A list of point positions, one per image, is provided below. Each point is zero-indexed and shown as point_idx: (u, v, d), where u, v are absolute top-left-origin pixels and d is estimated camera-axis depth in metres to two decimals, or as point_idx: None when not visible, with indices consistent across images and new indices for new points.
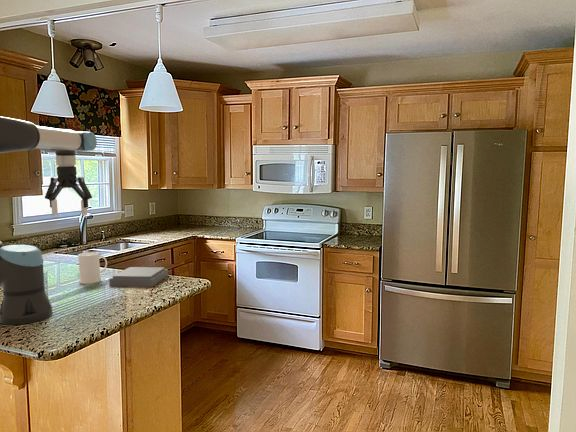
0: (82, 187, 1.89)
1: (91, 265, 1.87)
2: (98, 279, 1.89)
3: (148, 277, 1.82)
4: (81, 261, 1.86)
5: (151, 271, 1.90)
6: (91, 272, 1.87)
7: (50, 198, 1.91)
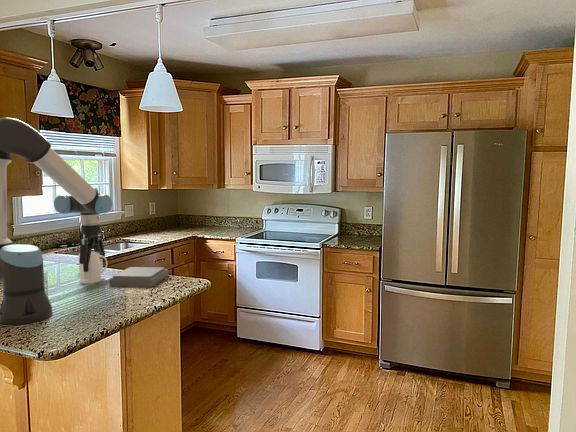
0: None
1: (92, 265, 1.87)
2: (98, 279, 1.90)
3: (148, 277, 1.82)
4: None
5: (151, 271, 1.90)
6: (91, 272, 1.87)
7: None
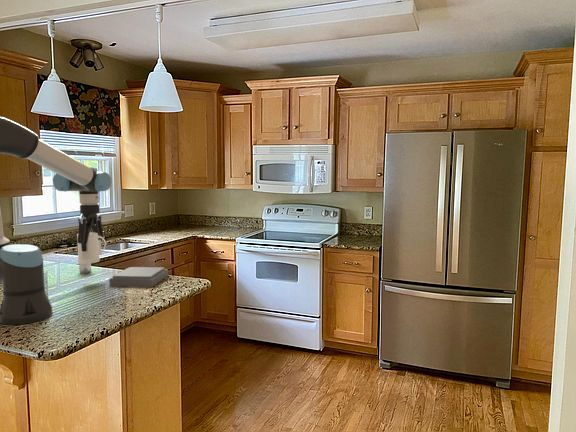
0: None
1: (90, 245, 1.86)
2: (97, 259, 1.89)
3: (148, 277, 1.82)
4: None
5: (151, 271, 1.90)
6: (90, 252, 1.86)
7: None
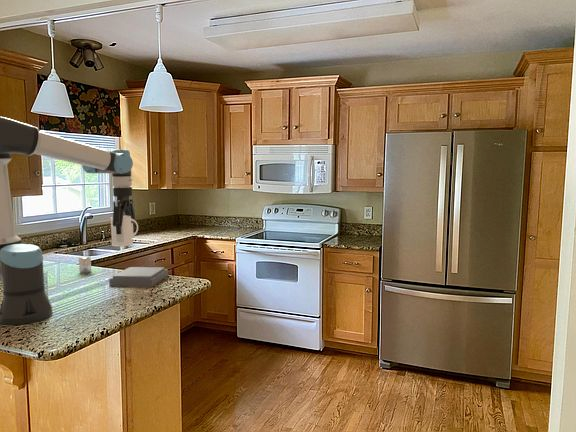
0: None
1: (124, 228, 1.85)
2: (130, 242, 1.88)
3: (148, 277, 1.82)
4: None
5: (151, 271, 1.90)
6: (124, 235, 1.85)
7: None
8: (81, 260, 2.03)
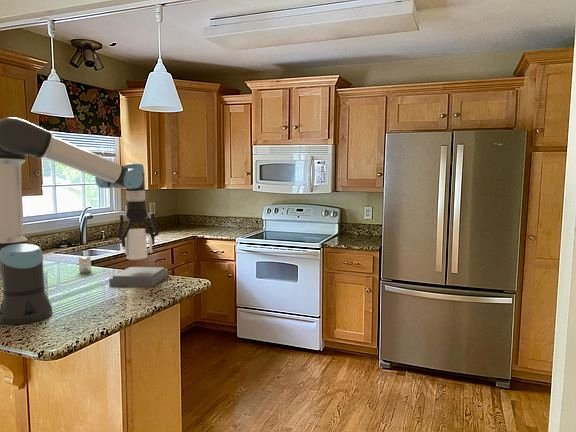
0: None
1: (129, 242, 1.86)
2: (136, 257, 1.86)
3: (148, 277, 1.82)
4: None
5: (151, 271, 1.90)
6: (129, 248, 1.86)
7: None
8: (81, 260, 2.03)
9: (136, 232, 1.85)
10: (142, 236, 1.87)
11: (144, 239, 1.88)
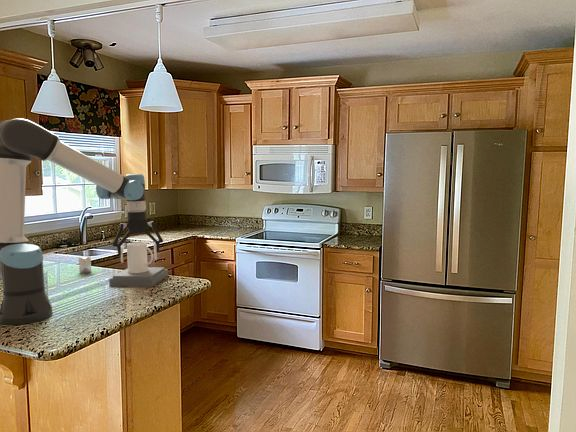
0: None
1: (130, 255, 1.86)
2: (137, 270, 1.87)
3: (148, 277, 1.82)
4: None
5: (151, 271, 1.90)
6: (130, 262, 1.87)
7: None
8: (81, 260, 2.03)
9: (137, 246, 1.86)
10: (143, 250, 1.88)
11: (145, 253, 1.89)
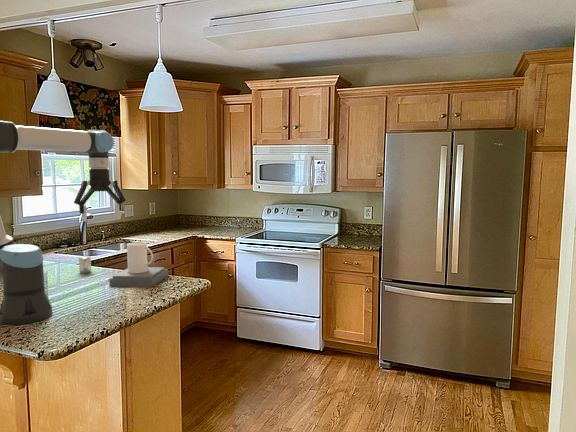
0: None
1: (130, 255, 1.86)
2: (137, 270, 1.87)
3: (148, 277, 1.82)
4: None
5: (151, 271, 1.90)
6: (130, 262, 1.87)
7: None
8: (81, 260, 2.03)
9: (137, 246, 1.86)
10: (143, 250, 1.88)
11: (145, 253, 1.89)
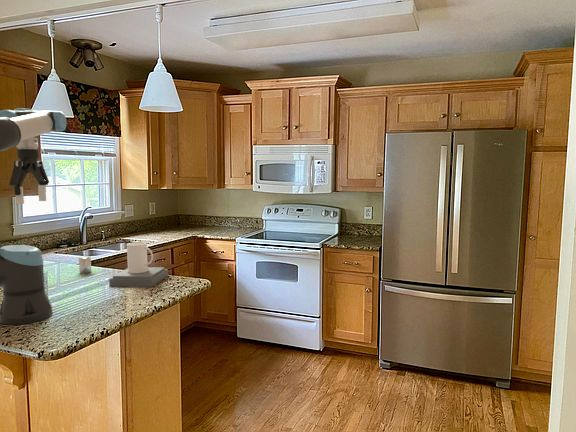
0: None
1: (130, 255, 1.86)
2: (137, 270, 1.87)
3: (148, 277, 1.82)
4: None
5: (151, 271, 1.90)
6: (130, 262, 1.87)
7: None
8: (81, 260, 2.03)
9: (137, 246, 1.86)
10: (143, 250, 1.88)
11: (145, 253, 1.89)
